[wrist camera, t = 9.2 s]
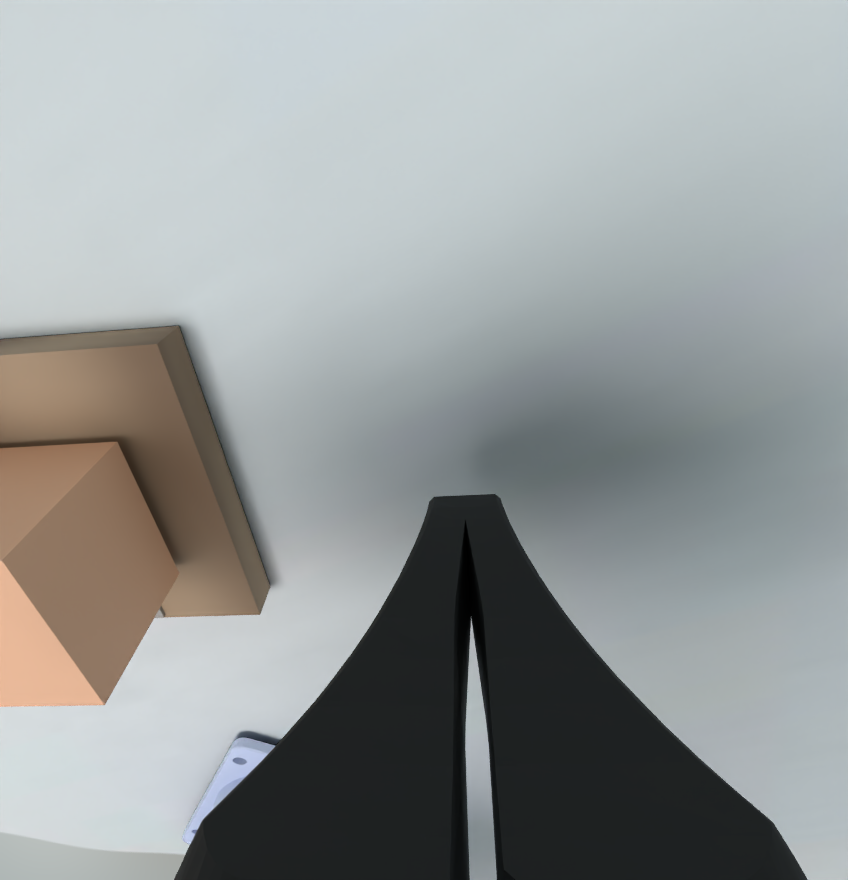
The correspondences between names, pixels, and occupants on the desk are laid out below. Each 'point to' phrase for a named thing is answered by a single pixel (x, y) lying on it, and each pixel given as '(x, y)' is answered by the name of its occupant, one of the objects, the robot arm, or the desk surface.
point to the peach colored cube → (74, 573)
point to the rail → (143, 448)
